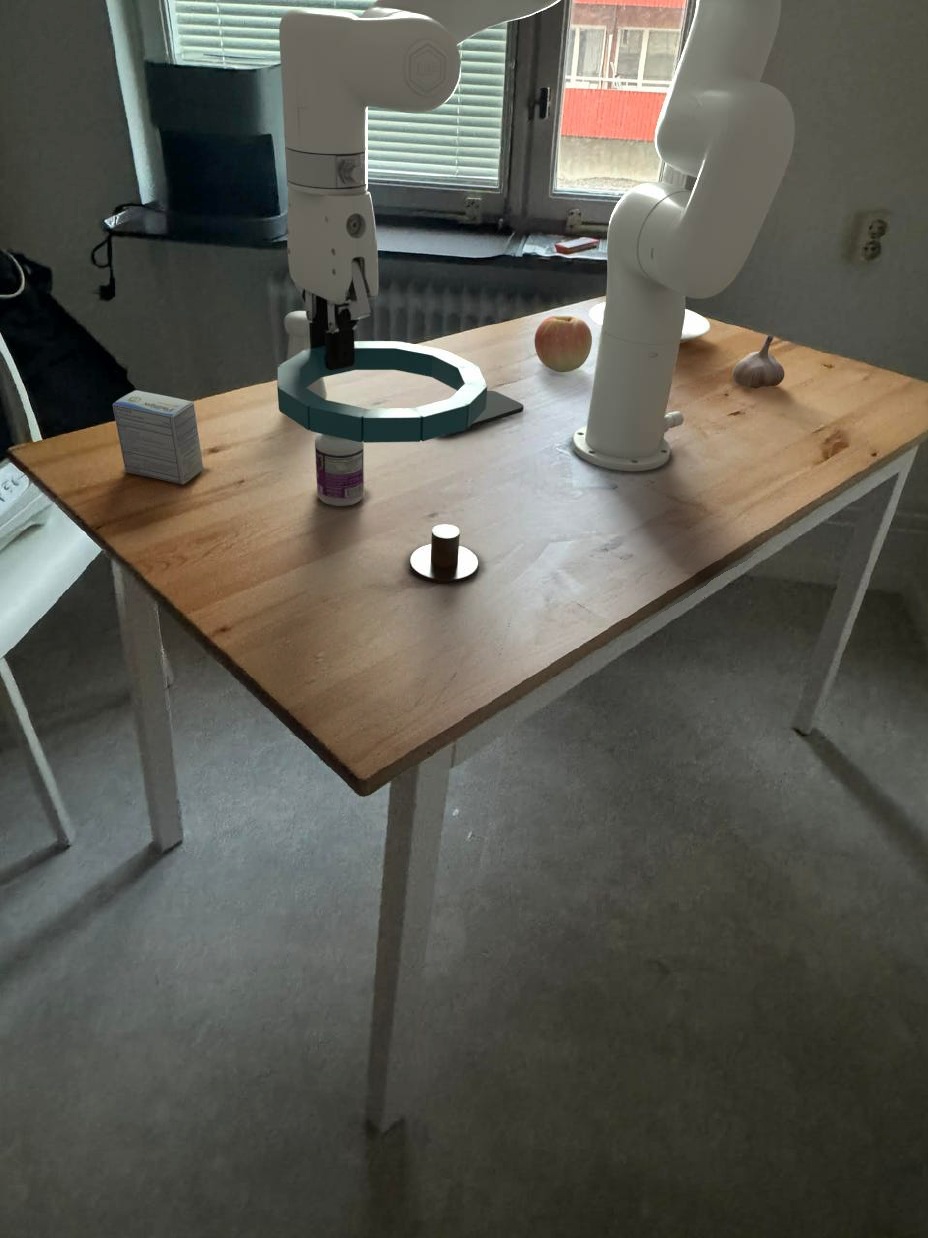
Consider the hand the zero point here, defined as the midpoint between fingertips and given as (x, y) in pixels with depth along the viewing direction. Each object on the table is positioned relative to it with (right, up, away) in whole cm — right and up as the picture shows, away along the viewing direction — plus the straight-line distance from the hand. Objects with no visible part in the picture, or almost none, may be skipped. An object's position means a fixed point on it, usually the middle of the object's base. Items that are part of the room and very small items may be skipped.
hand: (332, 361), depth 93 cm
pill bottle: (0, -13, +8) cm, 15 cm away
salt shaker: (-8, +1, +27) cm, 28 cm away
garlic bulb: (+59, +9, +44) cm, 74 cm away
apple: (+29, +12, +45) cm, 55 cm away
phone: (+15, +1, +28) cm, 32 cm away
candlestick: (+44, +21, +59) cm, 77 cm away
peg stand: (+12, -22, -3) cm, 25 cm away
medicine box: (-21, -10, +10) cm, 26 cm away
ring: (+6, -5, -5) cm, 9 cm away
